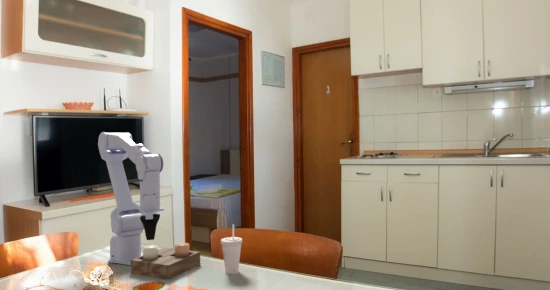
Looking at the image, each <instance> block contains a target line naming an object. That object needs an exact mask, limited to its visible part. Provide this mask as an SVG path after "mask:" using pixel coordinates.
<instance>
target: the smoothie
mask: <svg viewBox="0 0 550 290" xmlns="http://www.w3.org/2000/svg"><path fill="white" fill-rule="evenodd" d="M231 225H232V228H231V229H232V233H231V235H232V236H229V237H227V236H226V237H224V238H223V237H222V238H221V239H220V244H221V247H222V255H223V262H224V268H225V269H224V271H225V273H226V274H227V275H236V274H238V273H239V268H240V261H241V249H242V243H243V238H242V237H238V236H235V224H231ZM235 273H236V274H235Z"/></svg>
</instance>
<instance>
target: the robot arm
mask: <svg viewBox="0 0 550 290" xmlns="http://www.w3.org/2000/svg"><path fill="white" fill-rule="evenodd" d="M97 141H98V142H97V146H98V147H97V148H98V151H99V155H100V157H101V159H102V160H103V161H104V162H105V163H106V167H107V170H108V175H109V179H110V183H111V187H112V191H113V194H114V199H115V202H116V205H117V206H116V207H115V208H114V209H113V210H112V212H111V213H110V226H111V228H110V229H111V231H112V233H113V235H112V236H111V238H110V241H109V259H108V260H107V262H108V263H114V264H120V265H126V266H131V260H132V259H135V258H138V257H140V256H142V234H143V233H144V234H145V240H146V241H151V240H152V241H154V240H155V237H156V232H157V231H156V230H157V225H158V222H159V219H160V218H161V214H160V212H164V211H165V207H161V190H160V187H161V185H160V184H161V183H160V182H161V180H160V179H161V178H160V177H161V176H160V173H162V171H163V169H164V159H163V156H162V155H161V154H160V153H152V152H151V151H150V150H149V149H148V148H146V147H145V146H144V144H142V143H136V142H134V141H133V136H132V134H131V133H130V132H105V131H102V132H100V134H99V136H98V140H97ZM127 159H129V160H130V161H131V162H132V163H133V164H135V169H136V172H137V178H138V180H139V204H137V203H135V202H134V201H133V197H132V194H131V190H130V186H129V181H128V179H127V176H126V175H127V174H126V172H125V168H124V163H123V161H124V160H127Z"/></svg>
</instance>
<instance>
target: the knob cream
mask: <svg viewBox="0 0 550 290" xmlns="http://www.w3.org/2000/svg"><path fill="white" fill-rule="evenodd" d="M158 250H159V246H158V245H152V244H151V245H150V244H149V245H145V246H143V247H142V256H143V260H150V261H151V260H154V259H157V258H158Z"/></svg>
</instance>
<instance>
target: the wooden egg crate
mask: <svg viewBox="0 0 550 290" xmlns="http://www.w3.org/2000/svg"><path fill="white" fill-rule="evenodd" d="M198 266H201V251H196V250H189V256H187V257H184V258H182V257H175V248H171V247H162V248H160V249H158V258H157V259H154V260H151V261H150V260H143V255H141V256H140V257H138V258H135V259H132V260H131V265H130V274H131V275H138V276H143V277H144V276H145V277H150V278H156V279H161V280H162V279H163V280H167V281H169V280H171V279H173V278H175V277H178V276H180V275H181V274H184V273H186V272H188V271H190V270H193V269H194V268H196V267H198Z"/></svg>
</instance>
